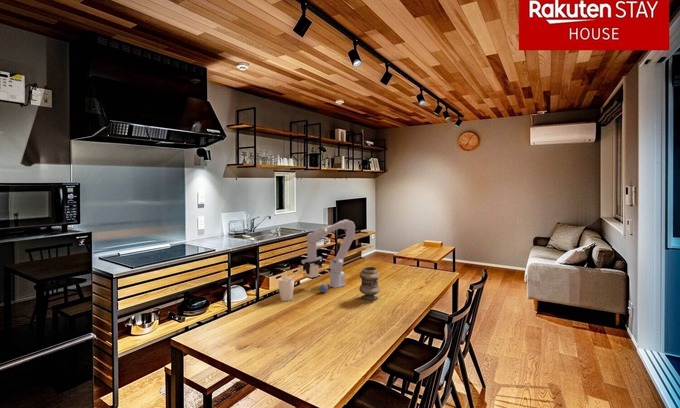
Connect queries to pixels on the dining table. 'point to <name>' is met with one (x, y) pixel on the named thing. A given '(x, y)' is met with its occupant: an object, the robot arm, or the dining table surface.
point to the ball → (323, 288)
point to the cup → (286, 288)
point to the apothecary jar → (369, 283)
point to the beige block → (313, 271)
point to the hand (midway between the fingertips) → (312, 272)
